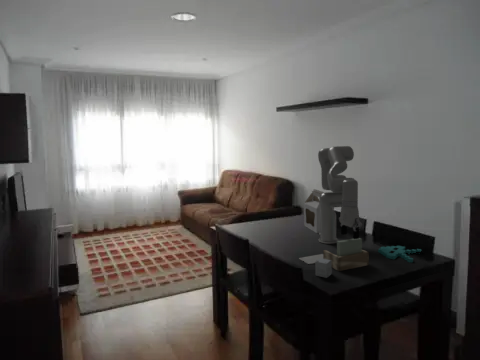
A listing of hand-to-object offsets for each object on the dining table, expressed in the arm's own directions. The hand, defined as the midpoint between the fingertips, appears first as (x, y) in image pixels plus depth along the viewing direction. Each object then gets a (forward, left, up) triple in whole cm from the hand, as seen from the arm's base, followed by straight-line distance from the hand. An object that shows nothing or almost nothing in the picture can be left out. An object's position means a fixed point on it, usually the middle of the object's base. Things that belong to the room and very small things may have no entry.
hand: (349, 236), depth 191 cm
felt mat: (-16, -10, -16) cm, 25 cm away
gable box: (-70, +28, -16) cm, 78 cm away
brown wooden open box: (-3, 0, -16) cm, 16 cm away
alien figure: (-3, +36, -17) cm, 40 cm away
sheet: (0, 0, -16) cm, 16 cm away
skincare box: (+4, -19, -16) cm, 25 cm away
